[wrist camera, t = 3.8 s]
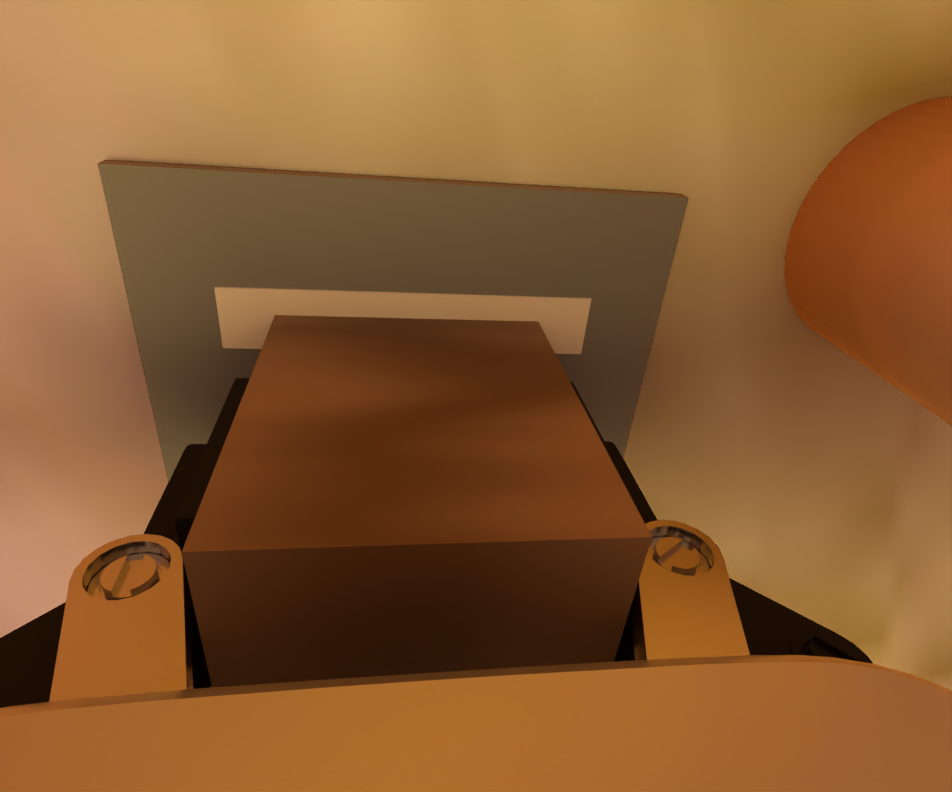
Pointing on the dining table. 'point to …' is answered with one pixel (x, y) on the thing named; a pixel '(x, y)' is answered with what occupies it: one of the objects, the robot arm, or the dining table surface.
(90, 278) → the dining table surface
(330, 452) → the walnut block
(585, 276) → the letter tile
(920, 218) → the terracotta cylinder
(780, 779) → the robot arm
